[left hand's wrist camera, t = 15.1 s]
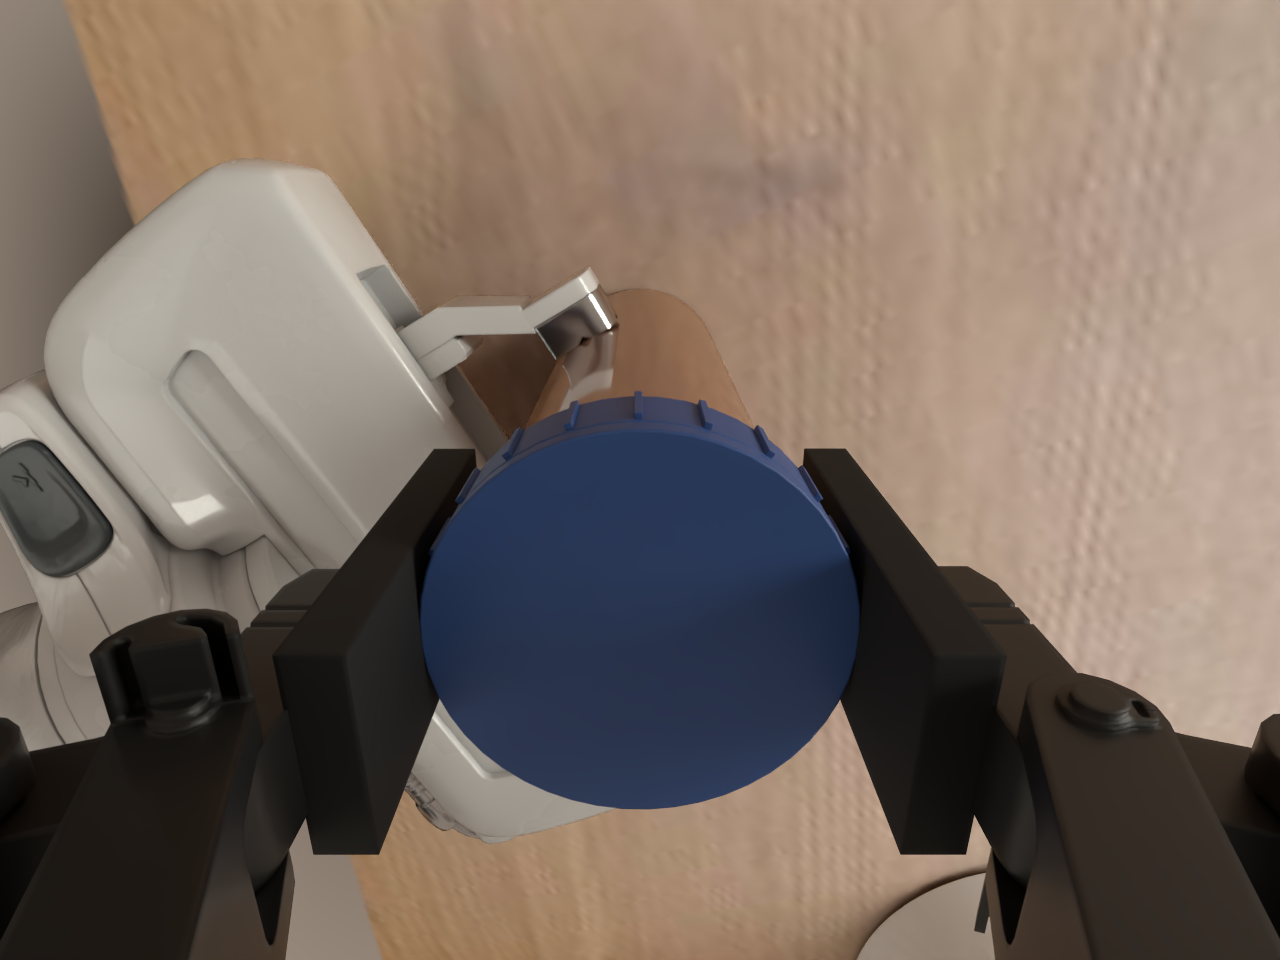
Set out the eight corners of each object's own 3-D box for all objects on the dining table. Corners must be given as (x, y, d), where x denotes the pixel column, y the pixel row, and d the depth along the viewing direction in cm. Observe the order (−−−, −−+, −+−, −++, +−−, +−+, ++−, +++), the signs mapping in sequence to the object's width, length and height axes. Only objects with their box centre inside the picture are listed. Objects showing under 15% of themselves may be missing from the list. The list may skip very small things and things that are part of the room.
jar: (543, 408, 27) (416, 700, 12) (593, 264, 25) (522, 385, 10) (681, 459, 27) (733, 797, 12) (740, 322, 26) (886, 519, 10)
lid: (650, 798, 13) (651, 876, 12) (363, 592, 12) (321, 652, 10) (918, 571, 12) (959, 628, 10) (624, 300, 10) (621, 318, 9)
